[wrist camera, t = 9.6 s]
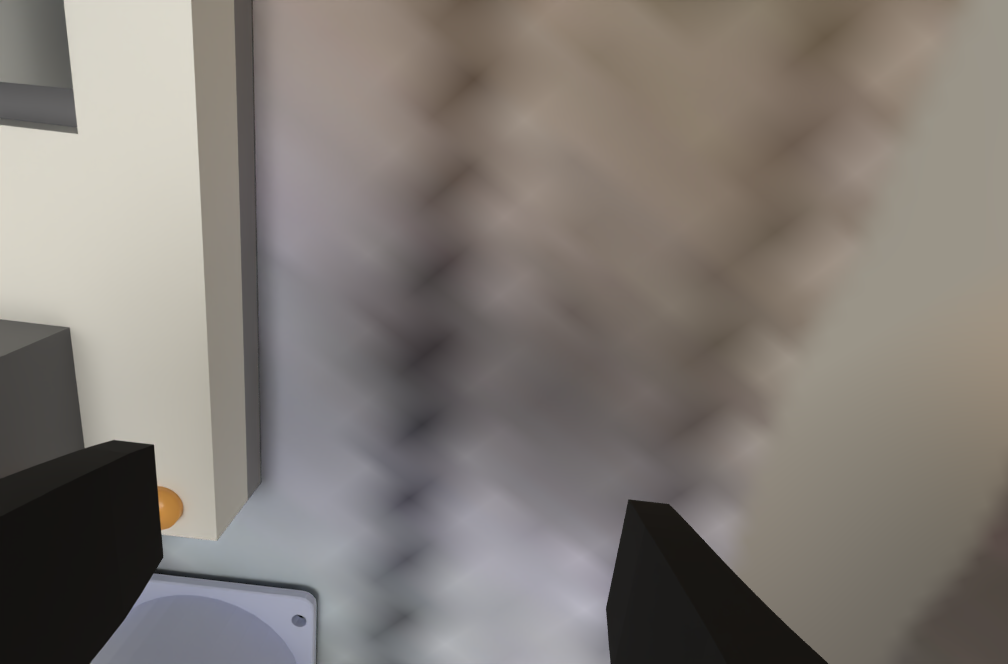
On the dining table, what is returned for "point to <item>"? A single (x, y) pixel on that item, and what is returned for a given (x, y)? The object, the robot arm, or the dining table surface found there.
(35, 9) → the plug
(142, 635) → the robot arm
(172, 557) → the dining table surface
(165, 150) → the power strip
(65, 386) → the twin plug
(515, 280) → the dining table surface
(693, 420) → the dining table surface
